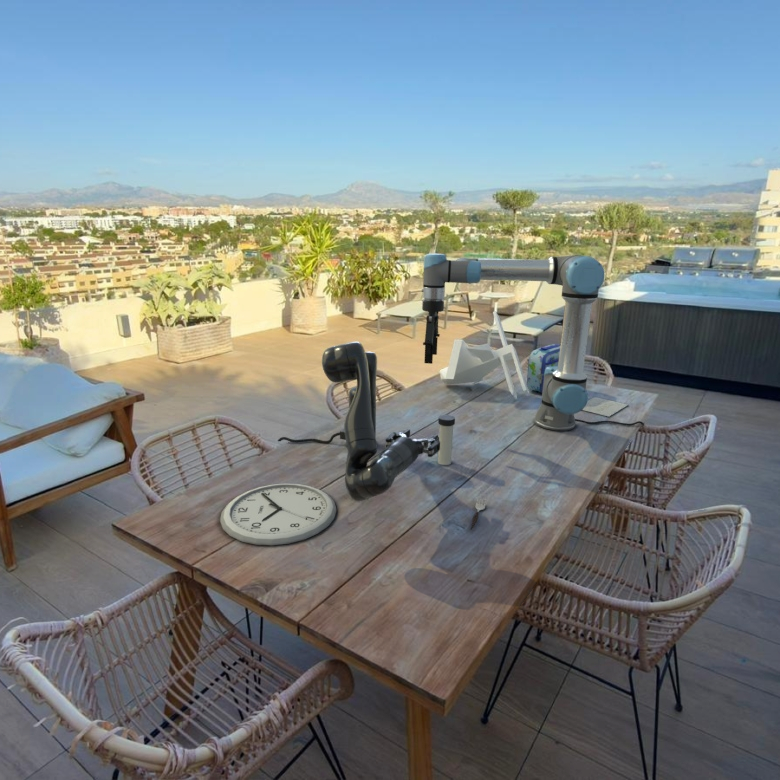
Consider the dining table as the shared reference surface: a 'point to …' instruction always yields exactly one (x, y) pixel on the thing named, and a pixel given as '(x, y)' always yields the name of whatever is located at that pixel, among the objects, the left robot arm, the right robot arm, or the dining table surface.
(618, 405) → the invitation card
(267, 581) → the dining table surface
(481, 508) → the fork
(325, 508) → the wall clock
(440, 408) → the dining table surface
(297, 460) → the dining table surface
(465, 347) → the white plastic object
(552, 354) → the lunch box
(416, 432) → the dining table surface
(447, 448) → the jar
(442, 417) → the lid
